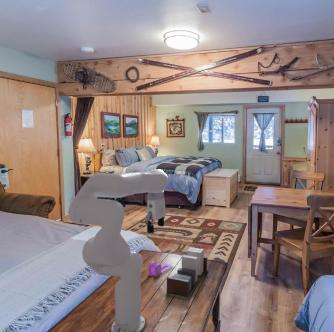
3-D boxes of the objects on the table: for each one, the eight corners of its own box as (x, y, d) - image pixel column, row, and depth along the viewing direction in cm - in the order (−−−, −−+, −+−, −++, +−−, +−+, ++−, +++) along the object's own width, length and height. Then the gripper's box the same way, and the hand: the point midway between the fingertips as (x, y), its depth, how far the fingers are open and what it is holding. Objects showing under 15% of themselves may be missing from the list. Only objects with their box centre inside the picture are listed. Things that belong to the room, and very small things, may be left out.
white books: (200, 275, 146) (200, 252, 144) (186, 273, 148) (186, 250, 146) (203, 271, 150) (203, 249, 149) (190, 269, 152) (190, 247, 151)
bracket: (156, 278, 144) (156, 266, 143) (148, 275, 147) (148, 263, 146) (173, 267, 155) (173, 256, 154) (166, 265, 158) (166, 253, 157)
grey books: (187, 295, 129) (187, 280, 128) (170, 291, 131) (170, 277, 130) (195, 283, 138) (195, 270, 137) (179, 280, 140) (179, 267, 139)
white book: (195, 282, 139) (196, 258, 137) (181, 280, 141) (181, 256, 139) (197, 280, 141) (197, 257, 139) (183, 278, 143) (183, 254, 141)
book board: (187, 299, 127) (188, 281, 126) (166, 295, 130) (166, 277, 128) (206, 272, 152) (207, 256, 151) (188, 269, 155) (188, 253, 153)
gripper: (153, 200, 121) (153, 237, 123) (171, 192, 137) (171, 224, 140) (138, 198, 122) (138, 234, 125) (158, 190, 139) (158, 222, 141)
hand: (155, 229), depth 132 cm, fingers open, 9 cm apart
